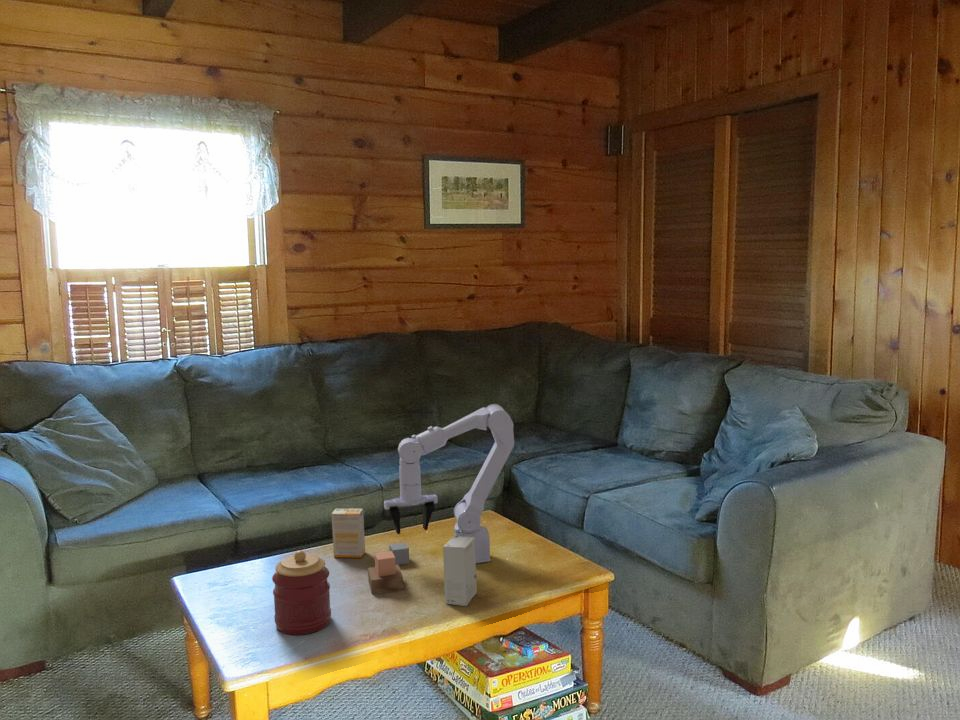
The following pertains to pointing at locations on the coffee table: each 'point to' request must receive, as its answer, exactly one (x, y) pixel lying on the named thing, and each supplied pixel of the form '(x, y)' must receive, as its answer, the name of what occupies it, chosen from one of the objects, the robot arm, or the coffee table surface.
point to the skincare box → (459, 570)
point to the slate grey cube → (400, 553)
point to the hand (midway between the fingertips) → (411, 530)
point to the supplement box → (348, 533)
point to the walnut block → (385, 581)
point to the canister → (301, 594)
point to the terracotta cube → (385, 563)
